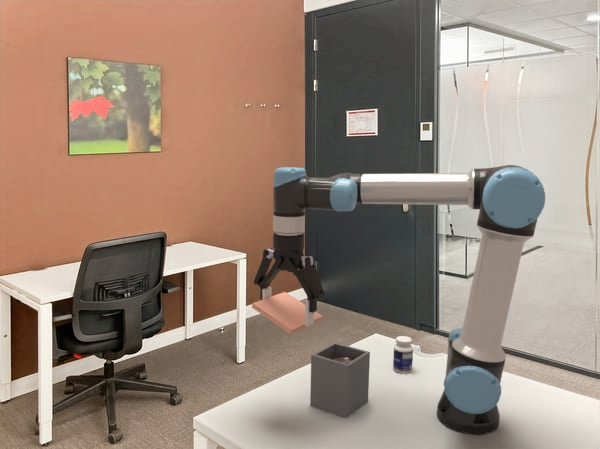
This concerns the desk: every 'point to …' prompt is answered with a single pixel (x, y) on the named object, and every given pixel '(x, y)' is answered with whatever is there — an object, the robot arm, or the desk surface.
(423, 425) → the desk surface
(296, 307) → the lid
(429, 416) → the desk surface
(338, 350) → the bin
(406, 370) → the pill bottle
